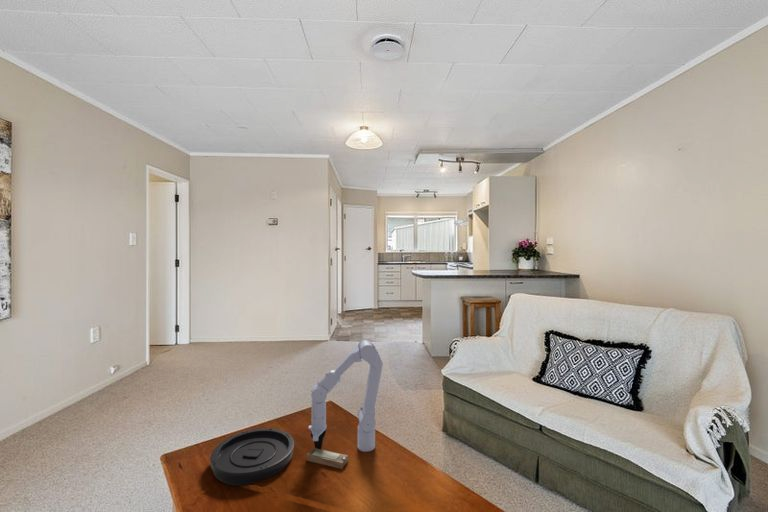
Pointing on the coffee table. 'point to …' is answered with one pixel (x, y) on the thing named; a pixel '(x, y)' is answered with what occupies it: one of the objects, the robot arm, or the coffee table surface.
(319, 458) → the frame
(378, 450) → the coffee table surface
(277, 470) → the round tray
